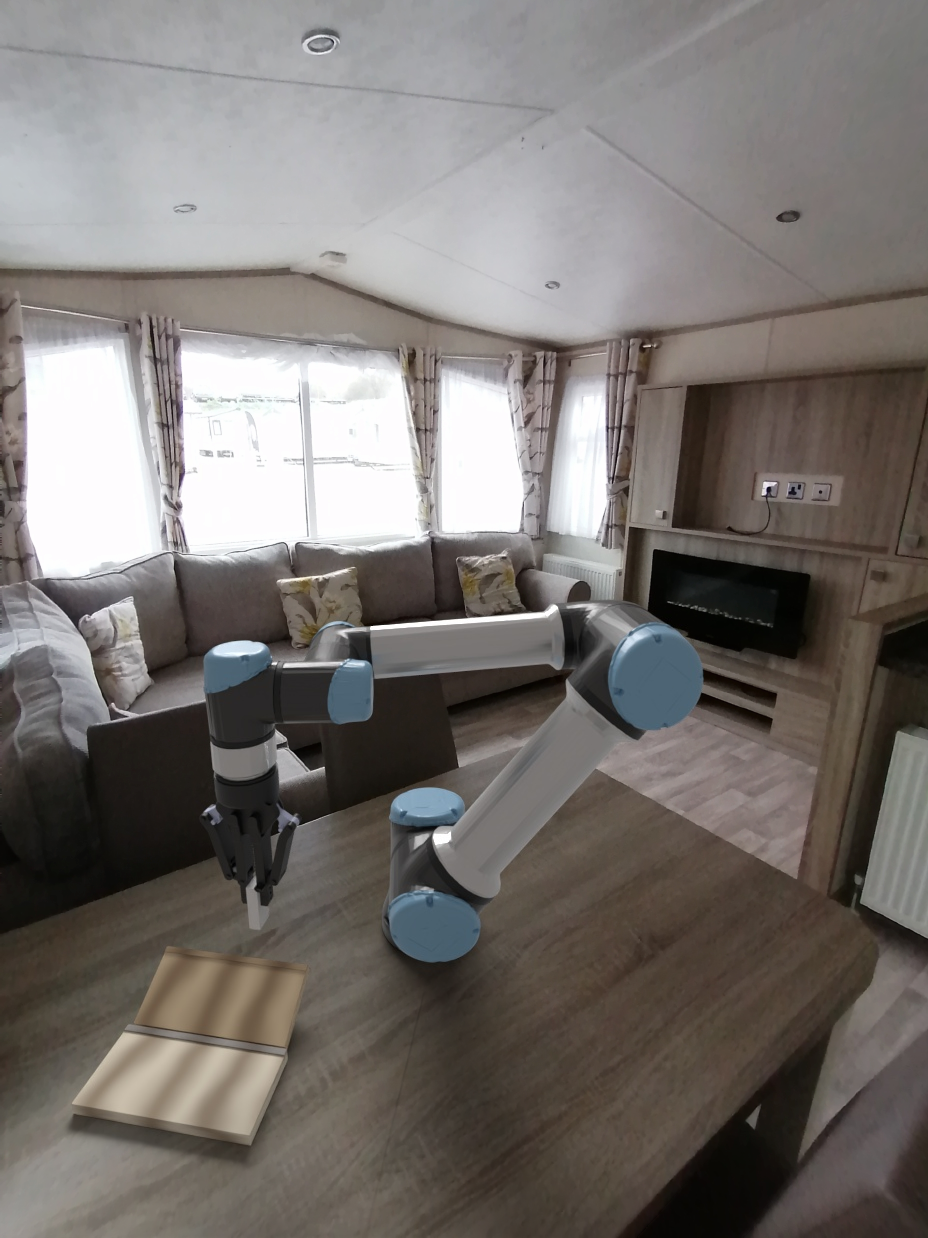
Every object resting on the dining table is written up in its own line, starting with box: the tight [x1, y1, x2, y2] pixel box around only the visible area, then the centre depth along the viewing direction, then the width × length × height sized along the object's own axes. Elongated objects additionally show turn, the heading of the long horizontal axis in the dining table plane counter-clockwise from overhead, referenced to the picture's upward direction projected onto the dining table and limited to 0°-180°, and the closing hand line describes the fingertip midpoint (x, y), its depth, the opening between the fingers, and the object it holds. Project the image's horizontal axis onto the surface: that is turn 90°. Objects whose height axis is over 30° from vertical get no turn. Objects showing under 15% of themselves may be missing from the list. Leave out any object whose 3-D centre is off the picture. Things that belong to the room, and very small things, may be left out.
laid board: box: [71, 1023, 289, 1146], centre depth 74 cm, size 22×10×2 cm, turn 82°
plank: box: [133, 945, 311, 1050], centre depth 83 cm, size 21×10×2 cm, turn 82°
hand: (259, 921), depth 82 cm, fingers closed
